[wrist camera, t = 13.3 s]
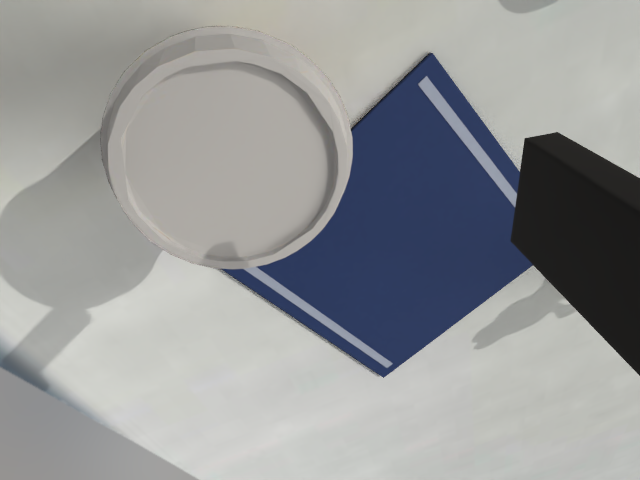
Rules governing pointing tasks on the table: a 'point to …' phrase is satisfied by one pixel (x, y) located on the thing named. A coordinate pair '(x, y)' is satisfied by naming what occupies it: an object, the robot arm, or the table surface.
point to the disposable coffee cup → (226, 147)
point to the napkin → (405, 229)
